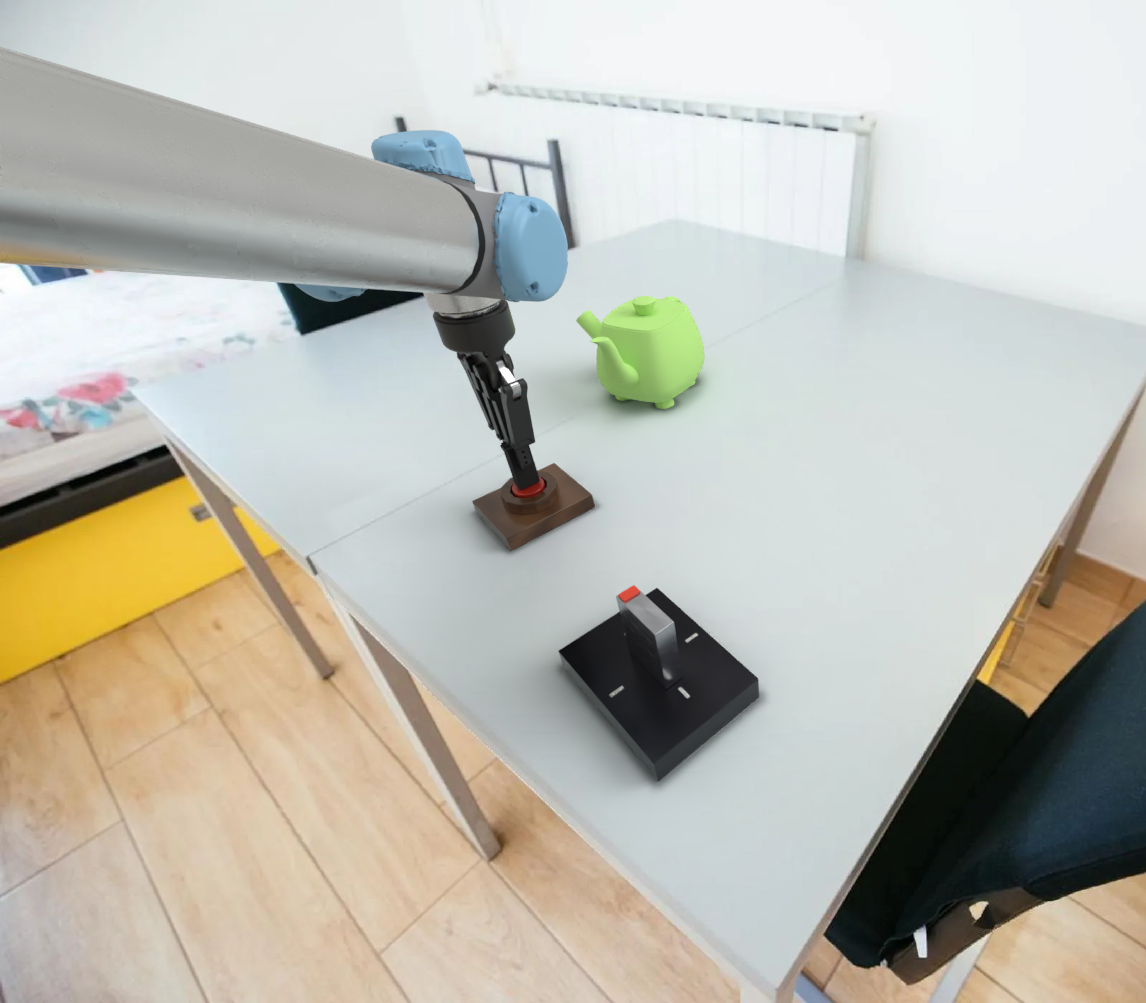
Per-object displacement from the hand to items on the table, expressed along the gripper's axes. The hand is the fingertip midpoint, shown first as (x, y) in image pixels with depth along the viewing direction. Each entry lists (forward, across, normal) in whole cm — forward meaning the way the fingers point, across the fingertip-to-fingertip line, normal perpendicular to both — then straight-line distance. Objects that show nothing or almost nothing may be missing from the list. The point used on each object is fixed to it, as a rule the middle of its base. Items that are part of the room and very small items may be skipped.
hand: (527, 483), depth 79 cm
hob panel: (+5, -33, +4) cm, 34 cm away
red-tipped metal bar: (+1, -33, +4) cm, 33 cm away
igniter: (+5, 0, 0) cm, 5 cm away
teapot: (+5, +17, -28) cm, 33 cm away
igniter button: (+2, 0, 0) cm, 2 cm away
